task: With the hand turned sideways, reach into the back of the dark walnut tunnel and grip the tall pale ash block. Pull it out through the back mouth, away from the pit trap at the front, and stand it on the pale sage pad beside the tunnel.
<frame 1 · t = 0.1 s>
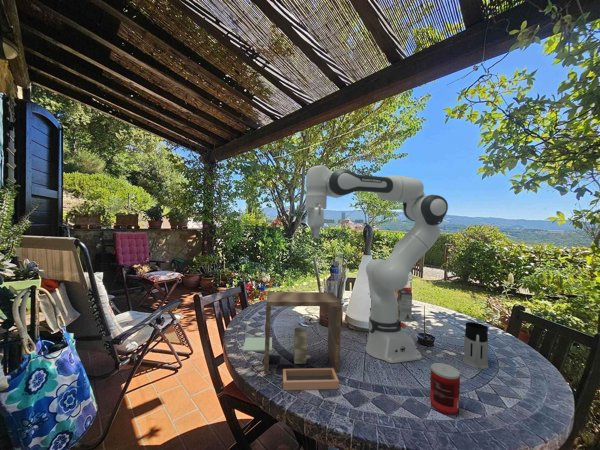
hand: (314, 237, 111), 48 cm above the table, tool pointing down, fingers open, 8 cm apart
glass holder: (475, 366, 105), on the table
canned food: (444, 406, 80), on the table
ash block: (299, 360, 104), on the table
pit trap: (309, 382, 90), on the table
coffee box: (404, 319, 156), on the table
walnut tunnel: (300, 363, 102), on the table
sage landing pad: (258, 344, 116), on the table
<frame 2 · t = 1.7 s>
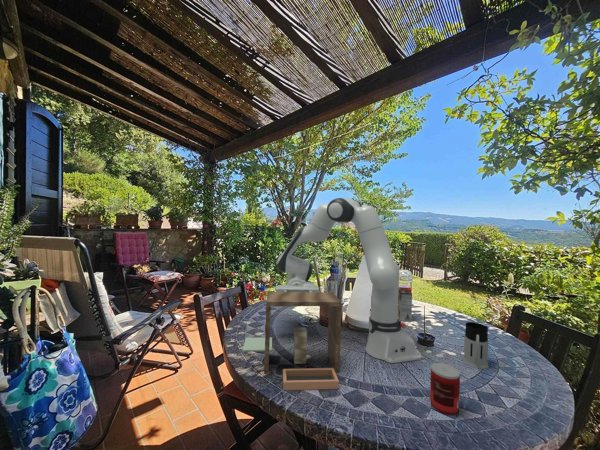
hand: (298, 295, 117), 22 cm above the table, tool horizontal, fingers open, 8 cm apart
nothing on the table moved.
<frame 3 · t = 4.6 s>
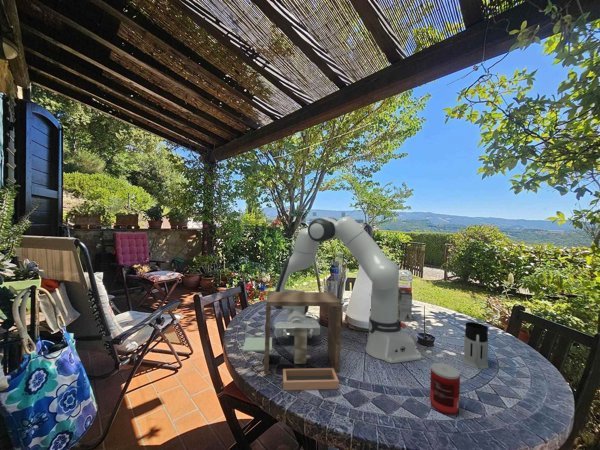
hand: (298, 336, 112), 6 cm above the table, tool horizontal, fingers open, 8 cm apart
nothing on the table moved.
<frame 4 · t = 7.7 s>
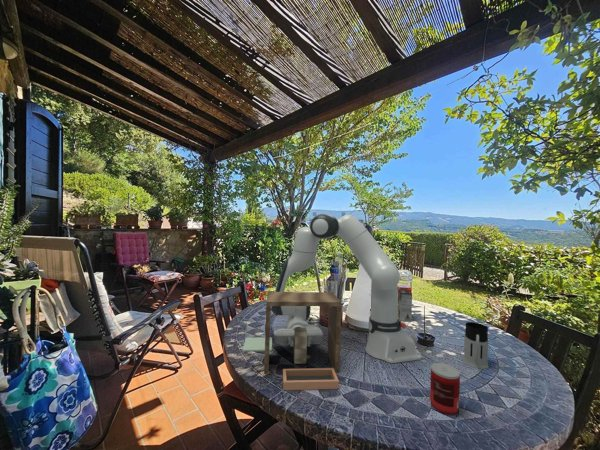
hand: (300, 344, 103), 7 cm above the table, tool horizontal, fingers closed on ash block, 4 cm apart
ash block: (299, 360, 104), on the table, touching gripper
everything else where it was.
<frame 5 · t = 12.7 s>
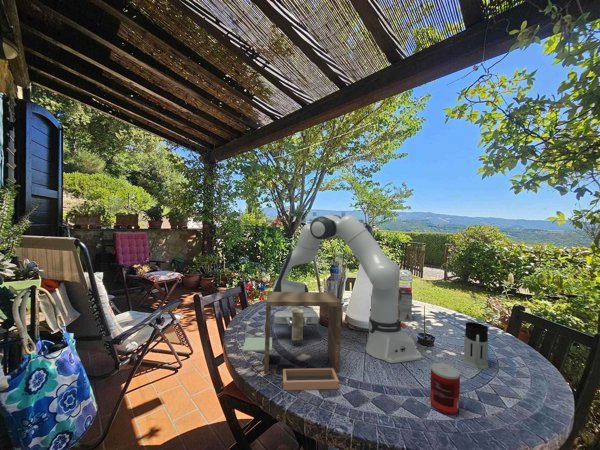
hand: (297, 323, 117), 9 cm above the table, tool horizontal, fingers closed on ash block, 4 cm apart
ash block: (296, 337, 118), point 3 cm above the table, touching gripper
everything else where it was.
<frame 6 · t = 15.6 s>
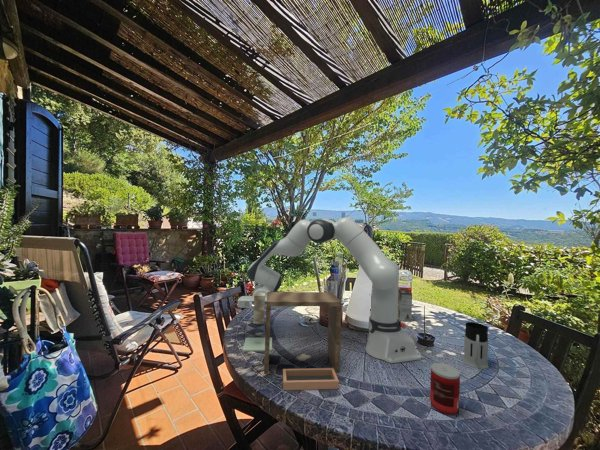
hand: (259, 307, 116), 17 cm above the table, tool horizontal, fingers closed on ash block, 4 cm apart
ash block: (258, 321, 116), point 10 cm above the table, touching gripper
everything else where it was.
when the fingers open (9 cm above the table, at t = 18.1 s): ash block drops 1 cm, resting on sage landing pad.
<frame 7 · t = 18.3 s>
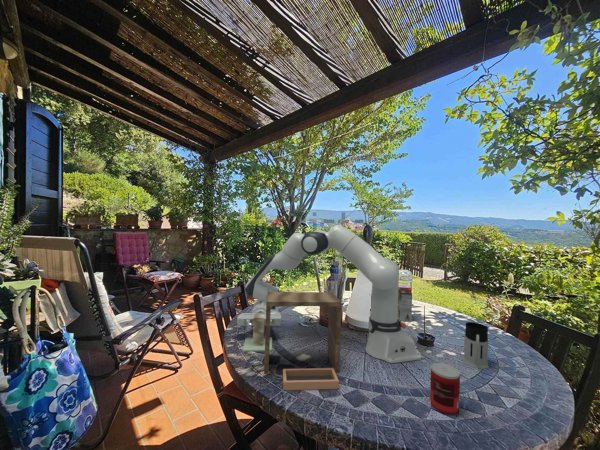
hand: (258, 325, 115), 9 cm above the table, tool horizontal, fingers open, 6 cm apart
ash block: (258, 343, 116), point 1 cm above the table, touching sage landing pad
everything else where it was.
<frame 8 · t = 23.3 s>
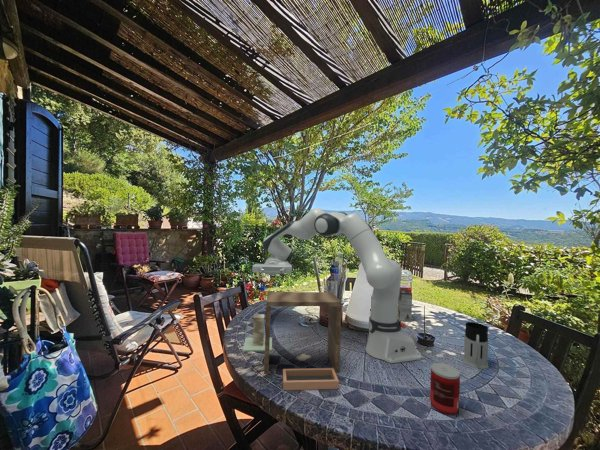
hand: (272, 271, 130), 30 cm above the table, tool horizontal, fingers open, 8 cm apart
nothing on the table moved.
at the end: ash block inside the target area on the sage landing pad (0.0 cm from its centre), point 0.6 cm above the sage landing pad's base; ash block tilted 0°; the gripper is holding nothing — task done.
